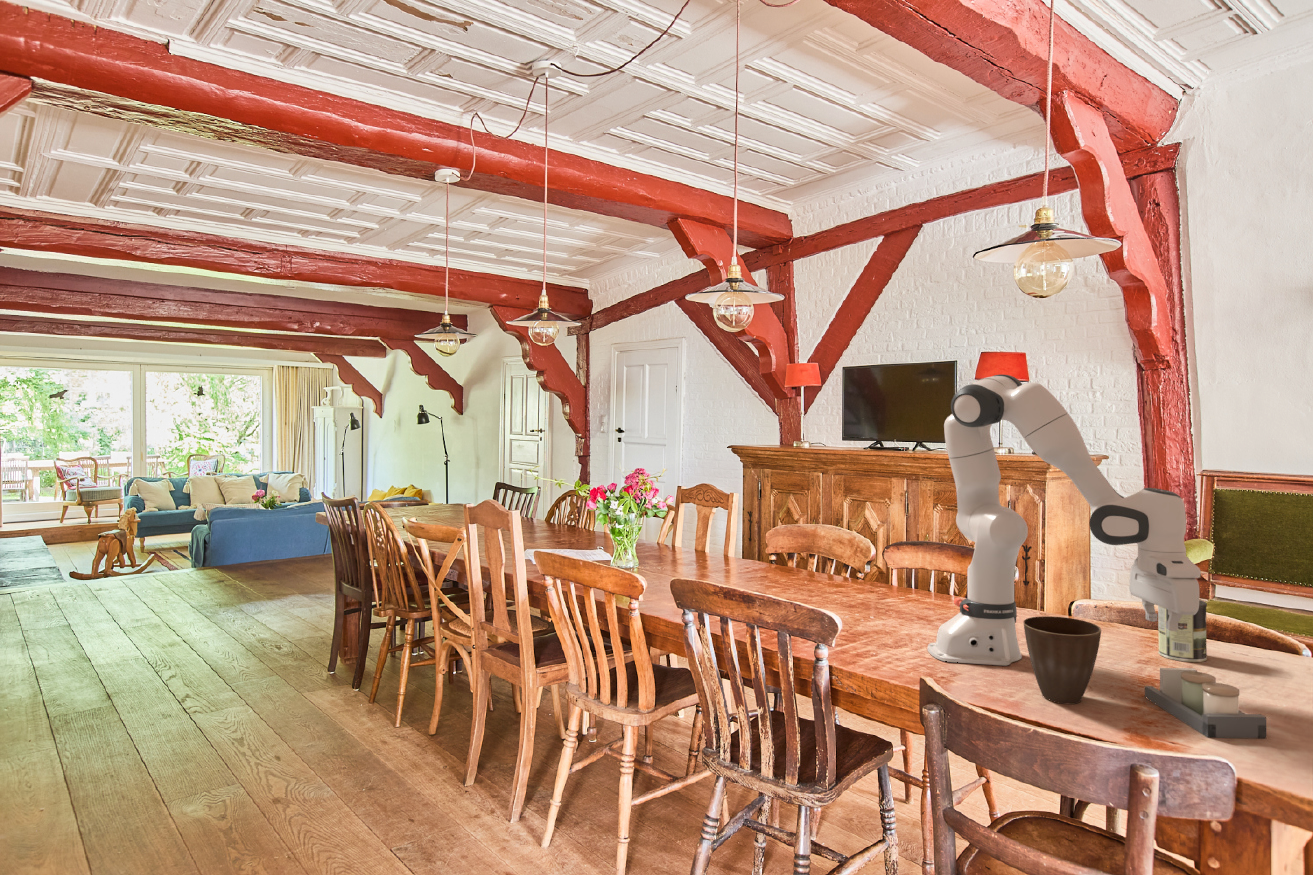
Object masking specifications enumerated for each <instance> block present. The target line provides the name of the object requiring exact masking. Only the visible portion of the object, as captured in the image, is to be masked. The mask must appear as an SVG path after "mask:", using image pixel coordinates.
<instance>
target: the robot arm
mask: <svg viewBox="0 0 1313 875" xmlns="http://www.w3.org/2000/svg"><path fill="white" fill-rule="evenodd" d="M950 411H951V414H950V415H948V416H947V417H946V419H945V420H944V424H943V428H944V431H943V432H944V442H945V446H946V447H945V448H946V453H947V455H948V461H949V465H950V469H951V471H952V472H951V473H952V476H953V480H954V484H955V490H956V503H957V504H956V505H957V506H956V508H957V513H956V517H955V523H956V526H957V529H958V530H959V531H960V533H961V534H962V535H963V536H964V537H965V538H967V540H970V541H971V542H974V551H973V555H972V558H971V562H970V564H968V567H967V570H966V571H967V583H966V585H967V588H966V589H967V597H966V598H965V599H961V598H960V597H956V598H954V599H953V604H954V605H955V606H957V607H958V608H959V612H958V613H956V614H955V615H954V616H953V617H952V618H950V619H948V620H947V621H945V622H944V623H942V624H941V625H940V626H939V628H938V629H937V634H936V642H930V643H928V644H927V651H928V653H929V654H930V655H931V656H932V657H933V658H935V659H937V660H939V661H942V662H945V661H947V662H946V663H957V662H958V664H959V663H961V664H977V665H991V666H992V665H993V666H1009V665H1010V664H1011V663H1014V662H1017V661H1020V660H1021V659H1022V658H1023V656H1022V653H1021V649H1020V646H1019V641H1018V635H1017V628H1016V623H1017V617H1018V616H1017V613H1018V612H1017V603H1016V602H1017V601H1015V570H1016V564H1017V560H1018V556H1019V552H1020V550H1021V546H1022V545H1023V544H1024V543H1025V541H1026V540H1027V538H1028V534H1029V528H1028V524H1027V522H1026V521H1025V519H1024V517H1022V515H1020V514H1019V513H1017V512H1016V511H1015V510H1013V509H1012V508H1010V507H1007V506H1002V504H1001V502H1000V491H999V490H1000V489H999V487H1000V482H1001V481H1002V479H1001V478H1002V475H1001V470H1000V467H999V464H998V458H997V455H996V452H995V448H994V444H993V441H992V437H991V427H992V425H993V424H997V423H1000V422H1001V421H1006V422H1009V423H1011V424H1012V425H1013V426H1014V427H1015V428H1016V430H1018V432H1019V434H1020V435H1021V437H1022V438H1023V440H1024V441H1025V442H1026V444H1027V445H1028V446H1029V448H1030V449H1031V450H1032V451H1033V452H1034V453H1035V454H1036V455H1037V456H1038V457H1039V459H1041V460H1042V461H1043V462H1045V463H1047V464H1049V465H1050V466H1053V467H1055V468H1057V469H1059V471H1062V472H1063V473H1064V474H1065V475H1066V476H1067V477H1068V478H1069V479H1070V480H1071V481H1072V483H1073V484H1074V485H1075V487H1076V489H1078V491H1079V493H1080V494H1081V496H1083V498H1084V500H1086V502H1087V503H1088V506H1089V508H1090V510H1091V513H1092V514H1091V516H1090V518H1089V524H1088V525H1089V529H1090V531H1091V533H1092V535H1093V536H1094V537H1095V538H1096V539H1097V540H1098V541H1100V542H1102V543H1103V544H1107V545H1109V546H1123V545H1130V544H1137V557H1136V558H1135V559H1134V560H1133V565H1131V568H1130V570H1129V581H1128V590H1129V593H1130V595H1131V596H1134V597H1136V598H1138V599H1141V604H1142V607H1143V609H1144V612H1145V620H1147V621H1149V622H1151V623H1152V622H1153V623H1155V622H1157V621H1158V612H1156V608H1155V605H1156V606H1157V607H1158V606H1160V607H1163V608H1165V609H1167V610H1168V615H1169V619H1168V621H1166V629H1168V630H1170V631H1177V630H1178V623H1179V621H1180V619H1181V617H1182V615H1195V614H1196V613H1197V611H1198V609H1199V600H1200V584H1199V581H1198V579H1199V578H1201V576H1202V575H1201V574H1202V572H1201V569H1200V567H1198V565H1196V564H1195V563H1194V562H1192V560H1191V559H1190V558H1189V557H1188V556H1187V549H1186V548H1187V547H1186V545H1185V541H1184V540H1185V536H1186V533H1187V516H1186V508H1185V502H1184V500H1183V498H1182V497H1181V496H1180V495H1179V494H1178V493H1175V492H1174V491H1170V490H1167V489H1161V488H1156V487H1154V488H1153V487H1143V488H1142V489H1141V490H1139V491H1137V492H1136V493H1134V494H1131V495H1128V496H1127V497H1125V496H1123V495H1121V494H1120V493H1118V492H1117V491H1116V490H1115V488H1113V486H1112V485H1111V484H1110V482H1109V481H1108V479H1106V477H1105V476H1104V474H1103V473H1102V472H1101V470H1100V469H1099V468H1098V466H1097V464H1095V462H1094V461H1093V459H1092V457H1091V455H1090V452H1089V451H1088V448H1087V446H1086V443H1085V441H1084V439H1083V436H1082V434H1081V432H1080V429H1079V428H1078V426H1077V424H1076V422H1075V421H1074V419H1073V418H1072V417H1071V415H1070V414H1069V412H1068V411H1067V410H1066V409H1065V407H1064V406H1063V405H1062V404H1061V402H1060V401H1059V400H1058V399H1057V398H1056V397H1055V396H1054V395H1053V394H1052V393H1051V391H1049V390H1048V389H1047V388H1046V387H1045V386H1043V385H1042V384H1040V383H1038V382H1029V383H1024V384H1023V383H1022V382H1021V381H1020V380H1019V379H1018V378H1016V377H1015V376H1013V375H1010V374H1002V373H1001V374H995V375H992V376H986V377H983V378H979V379H978V380H976V381H975V382H972V383H971V384H966V385H965V386H963V387H961V388H960V389H958V391H957V392H956V393H955V394H954V395H953V397H952V398H951V402H950Z"/></svg>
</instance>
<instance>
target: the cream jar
mask: <svg viewBox="0 0 1313 875" xmlns="http://www.w3.org/2000/svg"><path fill="white" fill-rule="evenodd" d="M1202 689H1203V713H1205V714H1239V711H1238V710H1239V696H1240V689H1239V688H1237V687H1236V686H1233V685H1230V684H1226V683H1221V682H1216V683H1213V682H1209V683H1203V684H1202Z"/></svg>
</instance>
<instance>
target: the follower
mask: <svg viewBox="0 0 1313 875" xmlns="http://www.w3.org/2000/svg"><path fill="white" fill-rule="evenodd" d="M1184 671H1195V672H1198V669H1196V668H1194V667H1189V668H1188V667H1187V668H1186V667H1178V668H1177V667H1159V691H1161V692H1163V693H1164V694H1166V695H1168V696H1169V697H1171V698H1173V699H1174V700H1176V701H1178V702H1179V703H1181V704H1182V678H1181V672H1184Z"/></svg>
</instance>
